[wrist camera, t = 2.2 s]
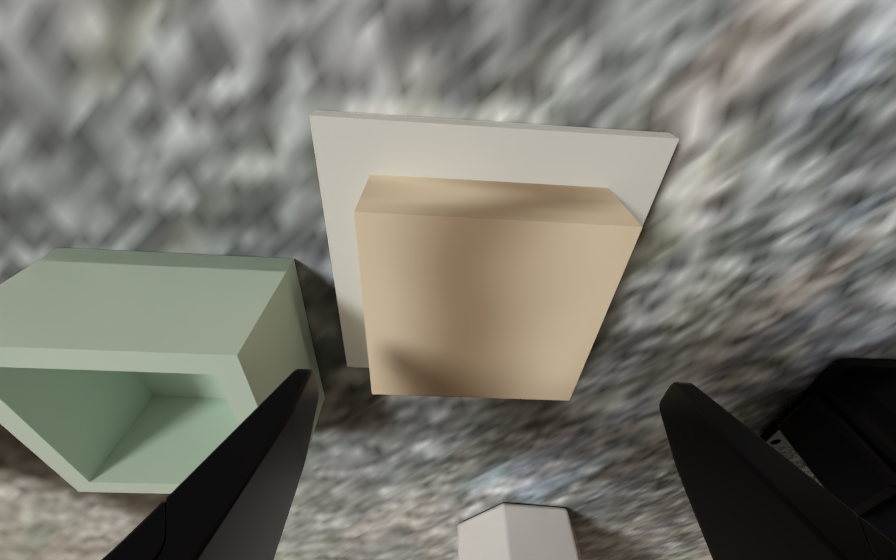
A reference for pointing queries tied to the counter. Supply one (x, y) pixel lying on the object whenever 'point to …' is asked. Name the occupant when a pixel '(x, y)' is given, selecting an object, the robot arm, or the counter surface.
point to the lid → (486, 283)
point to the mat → (465, 174)
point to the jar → (518, 534)
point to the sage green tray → (144, 359)
